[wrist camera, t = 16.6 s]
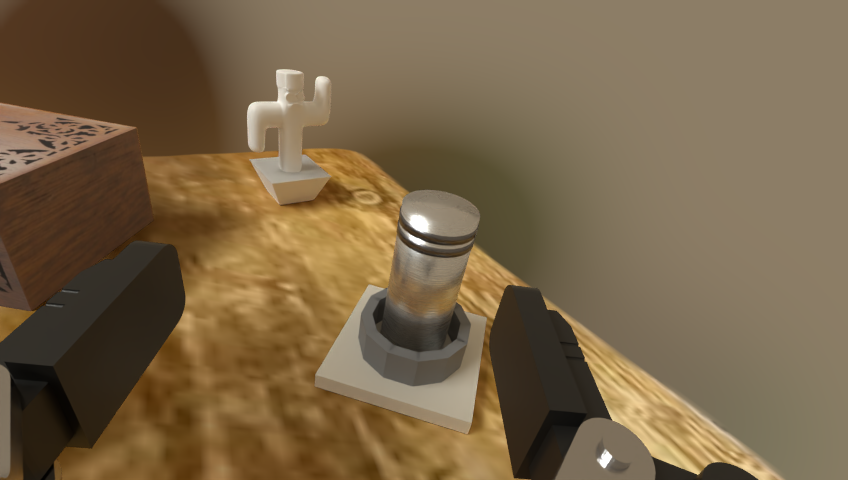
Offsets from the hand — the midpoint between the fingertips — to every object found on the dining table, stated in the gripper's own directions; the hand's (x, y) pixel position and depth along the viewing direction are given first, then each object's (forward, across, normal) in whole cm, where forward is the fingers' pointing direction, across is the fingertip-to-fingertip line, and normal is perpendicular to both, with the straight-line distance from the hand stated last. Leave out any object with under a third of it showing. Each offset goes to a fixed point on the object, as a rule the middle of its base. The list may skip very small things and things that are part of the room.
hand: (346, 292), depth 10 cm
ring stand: (+15, +4, -18) cm, 24 cm away
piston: (+15, +4, -17) cm, 23 cm away
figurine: (+39, -12, -19) cm, 45 cm away
